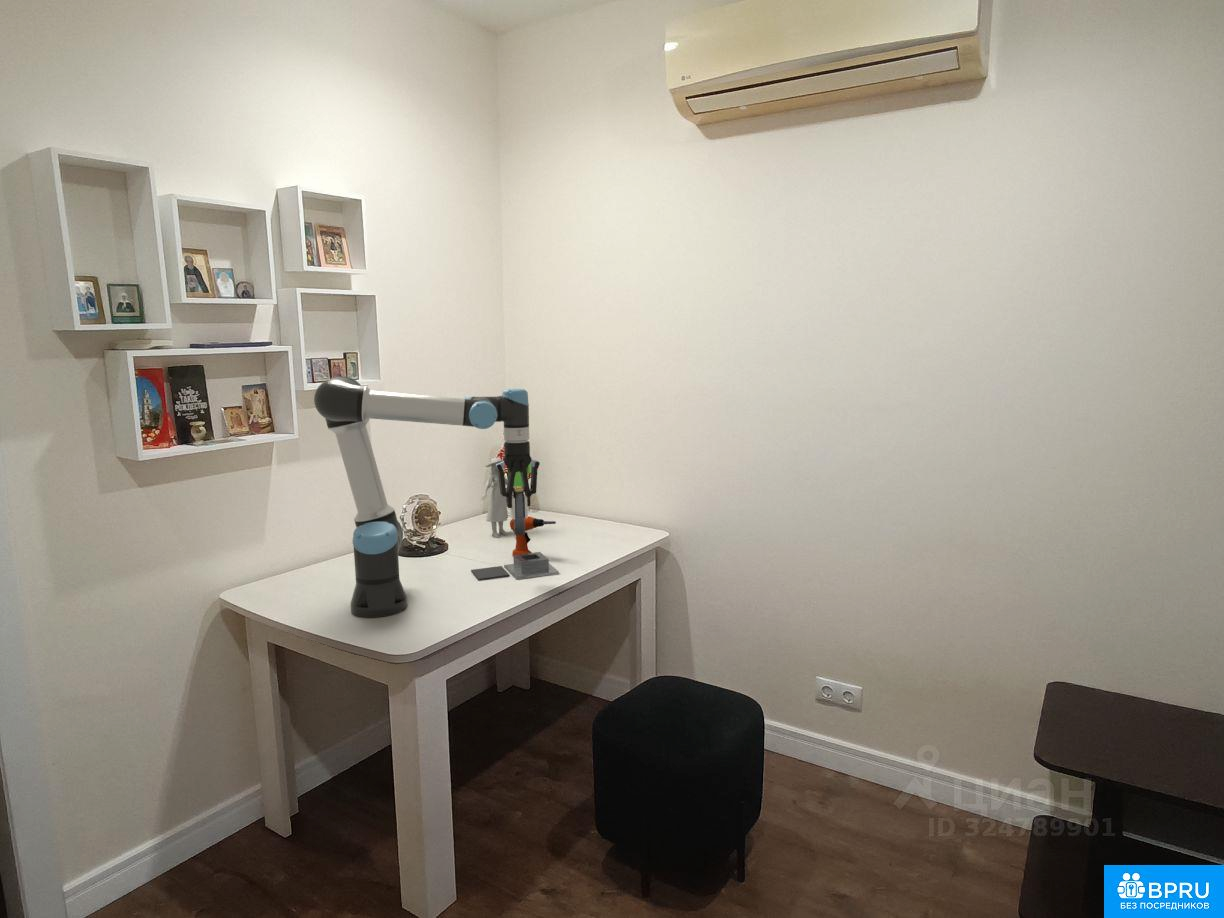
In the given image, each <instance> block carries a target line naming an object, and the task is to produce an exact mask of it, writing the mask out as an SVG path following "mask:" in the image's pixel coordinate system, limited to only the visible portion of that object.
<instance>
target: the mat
mask: <svg viewBox="0 0 1224 918" xmlns="http://www.w3.org/2000/svg"><path fill="white" fill-rule="evenodd" d="M470 571H471V572H470V573H472V574H473V576H474V577H475V579H476V580H477V581H484V580H485V581H487V580H493V579H500V578H501V579H502V578H507V577H509V576H510V575H511V574H510V573H509V572H508V571H507V570H506V569H505V567H503V566H502V565H498V566H490V567H483V568H475V569H474V568H473V569H471V570H470Z"/></svg>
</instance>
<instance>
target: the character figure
mask: <svg viewBox="0 0 1224 918" xmlns="http://www.w3.org/2000/svg"><path fill="white" fill-rule="evenodd" d="M502 461H503V459H501V457H494V458H492V459H491V460H490V463H489V464H487V465H485V468H490V473H489V476H488V478H487V481H486V482H485V484H484V491H483V495H482V497H481V500H482V501H484V500H485V498H488V494H487V492H488V490H489V489H490V488H491V492H490V497H489V503H488V507H487V514H486V522H489V523H491V529H492V536H493V537H495V538H500V535H503V536H508V535H509V533H508V532H506V530H505V529H504V522H506V521H507V520H508V518H509V514H508V507H507V497H505V496H502V495H501V494H500V486H499V477H498V470H497V469H496V467H495V464H496V463H498V464H499V463H501V462H502ZM504 478H505V486H507V485H508V478H507V477H506V476H505V475H504ZM492 484H493V485H492ZM497 523H498V525H497ZM497 526H498V531H497Z"/></svg>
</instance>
